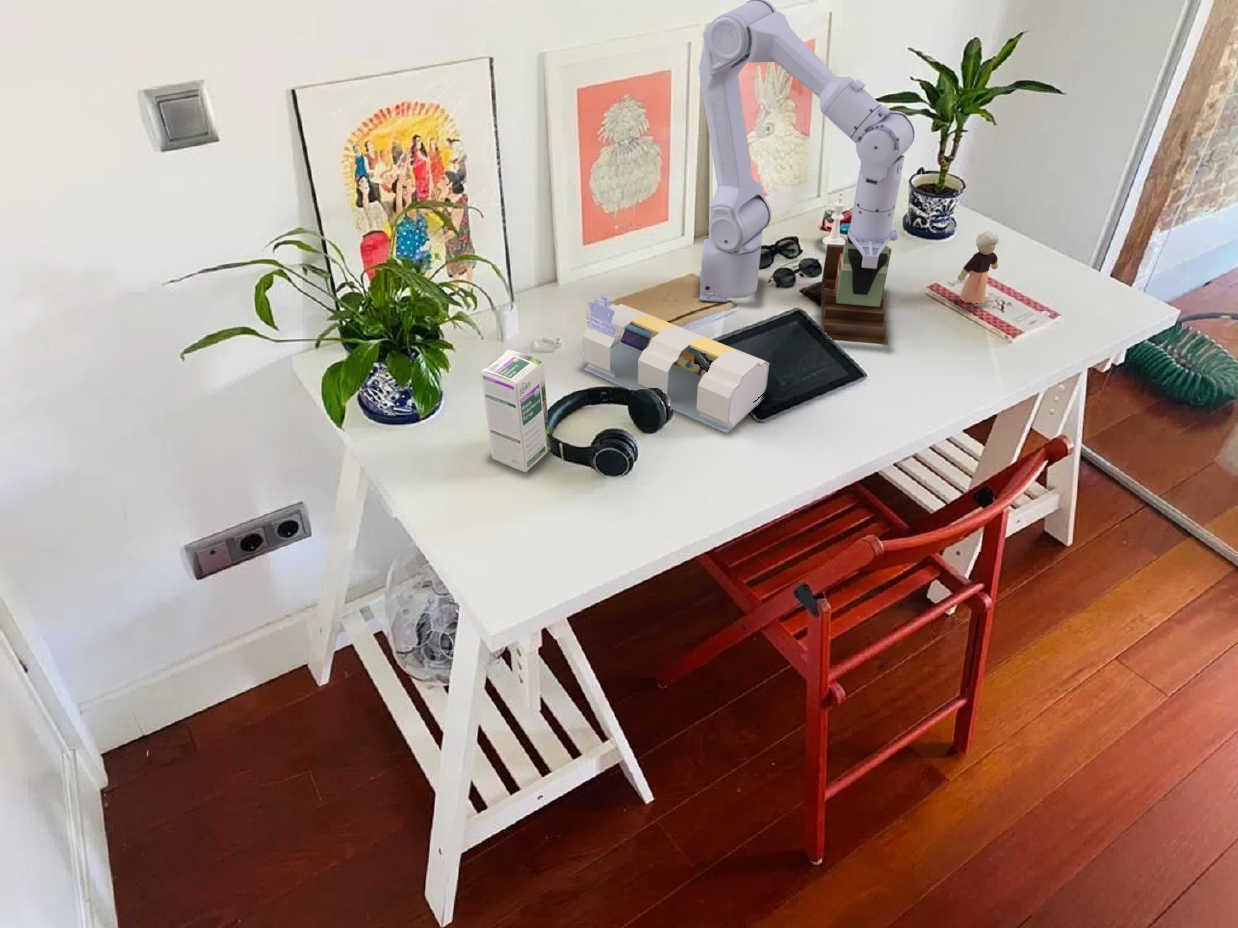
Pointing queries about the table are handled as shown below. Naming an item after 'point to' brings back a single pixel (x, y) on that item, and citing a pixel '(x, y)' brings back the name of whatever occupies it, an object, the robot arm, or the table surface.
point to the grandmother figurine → (979, 269)
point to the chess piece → (836, 224)
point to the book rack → (849, 309)
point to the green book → (846, 286)
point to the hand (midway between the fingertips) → (860, 287)
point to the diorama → (673, 364)
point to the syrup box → (516, 409)
